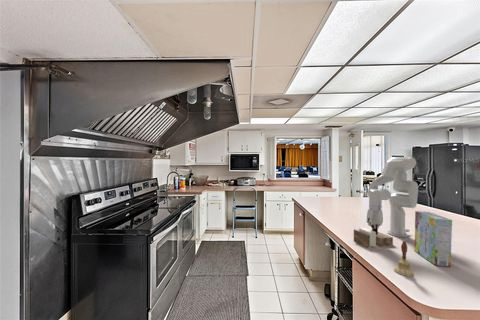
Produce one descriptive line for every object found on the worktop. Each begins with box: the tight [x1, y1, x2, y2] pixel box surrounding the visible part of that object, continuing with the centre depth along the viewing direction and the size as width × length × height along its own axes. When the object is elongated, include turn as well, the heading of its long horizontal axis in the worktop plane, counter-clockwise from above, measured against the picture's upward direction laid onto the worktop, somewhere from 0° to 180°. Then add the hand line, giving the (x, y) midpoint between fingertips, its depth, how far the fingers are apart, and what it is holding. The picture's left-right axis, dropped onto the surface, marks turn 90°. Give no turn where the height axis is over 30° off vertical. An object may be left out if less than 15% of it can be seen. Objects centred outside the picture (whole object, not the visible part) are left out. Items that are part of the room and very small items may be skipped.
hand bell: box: [393, 240, 415, 277], centre depth 119 cm, size 8×8×16 cm
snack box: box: [413, 210, 453, 268], centre depth 136 cm, size 22×9×26 cm, turn 168°
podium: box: [353, 229, 394, 248], centre depth 161 cm, size 21×13×8 cm, turn 104°
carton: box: [358, 227, 376, 246], centre depth 159 cm, size 9×10×4 cm
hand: (374, 233), depth 162 cm, fingers closed
